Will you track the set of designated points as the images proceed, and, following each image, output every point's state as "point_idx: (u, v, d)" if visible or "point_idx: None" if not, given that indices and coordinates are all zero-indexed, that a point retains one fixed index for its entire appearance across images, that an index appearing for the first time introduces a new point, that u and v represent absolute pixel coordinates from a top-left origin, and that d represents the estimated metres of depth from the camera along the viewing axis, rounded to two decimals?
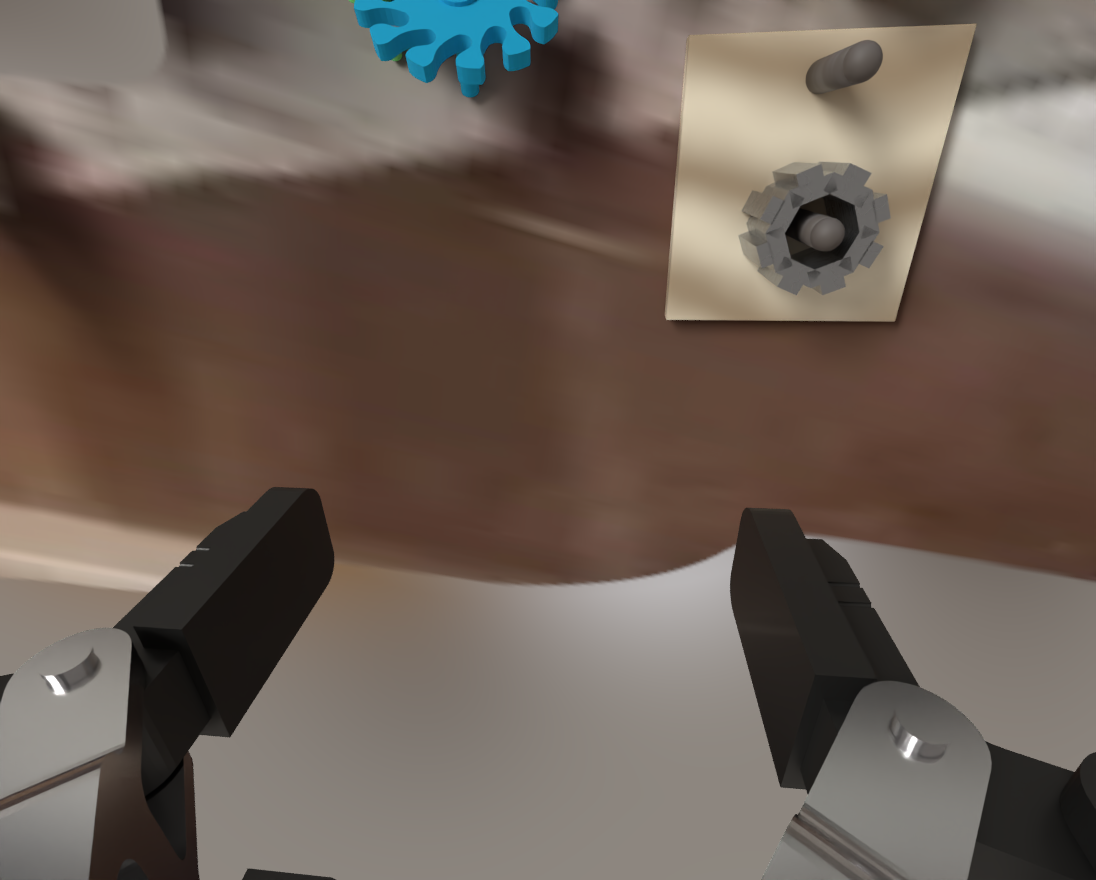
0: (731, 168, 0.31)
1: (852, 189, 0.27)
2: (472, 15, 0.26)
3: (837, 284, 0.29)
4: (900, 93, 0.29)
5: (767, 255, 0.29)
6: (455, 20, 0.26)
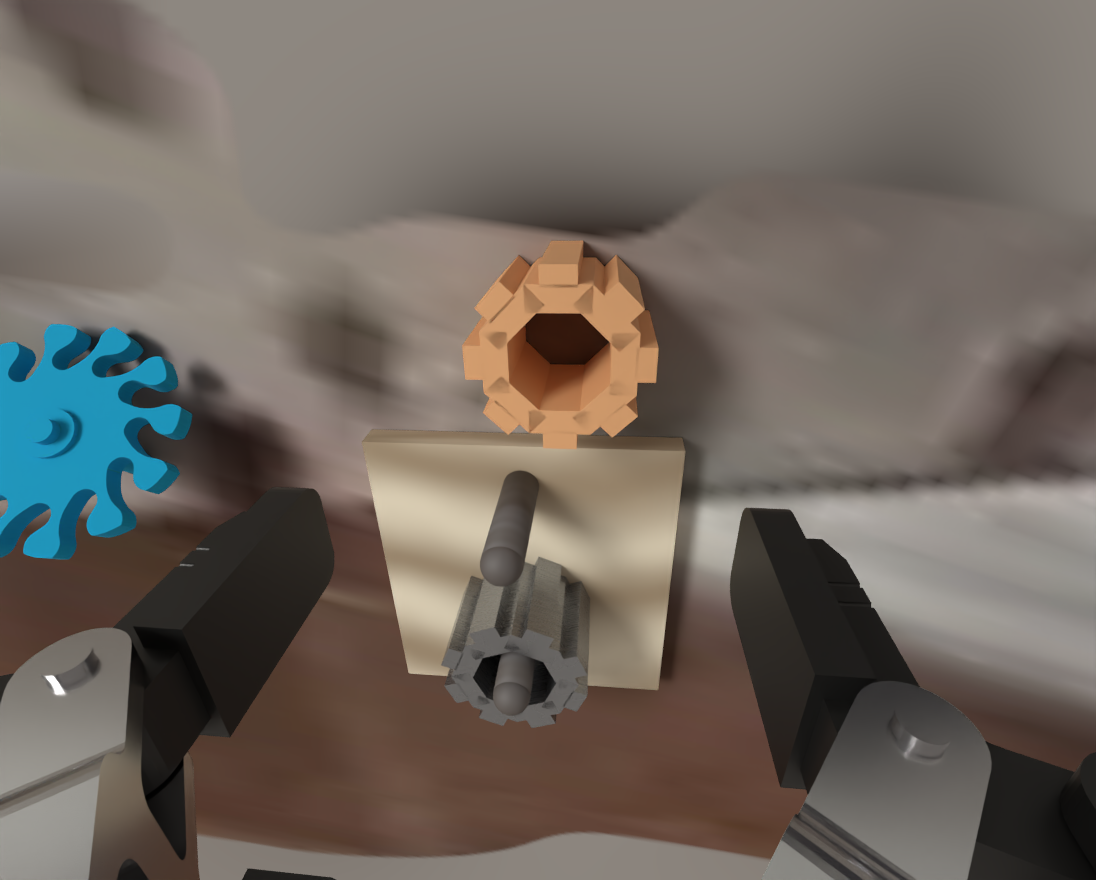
0: (442, 556, 0.27)
1: (536, 649, 0.23)
2: (61, 472, 0.22)
3: (545, 720, 0.25)
4: (614, 505, 0.25)
5: (459, 693, 0.25)
6: (37, 480, 0.22)
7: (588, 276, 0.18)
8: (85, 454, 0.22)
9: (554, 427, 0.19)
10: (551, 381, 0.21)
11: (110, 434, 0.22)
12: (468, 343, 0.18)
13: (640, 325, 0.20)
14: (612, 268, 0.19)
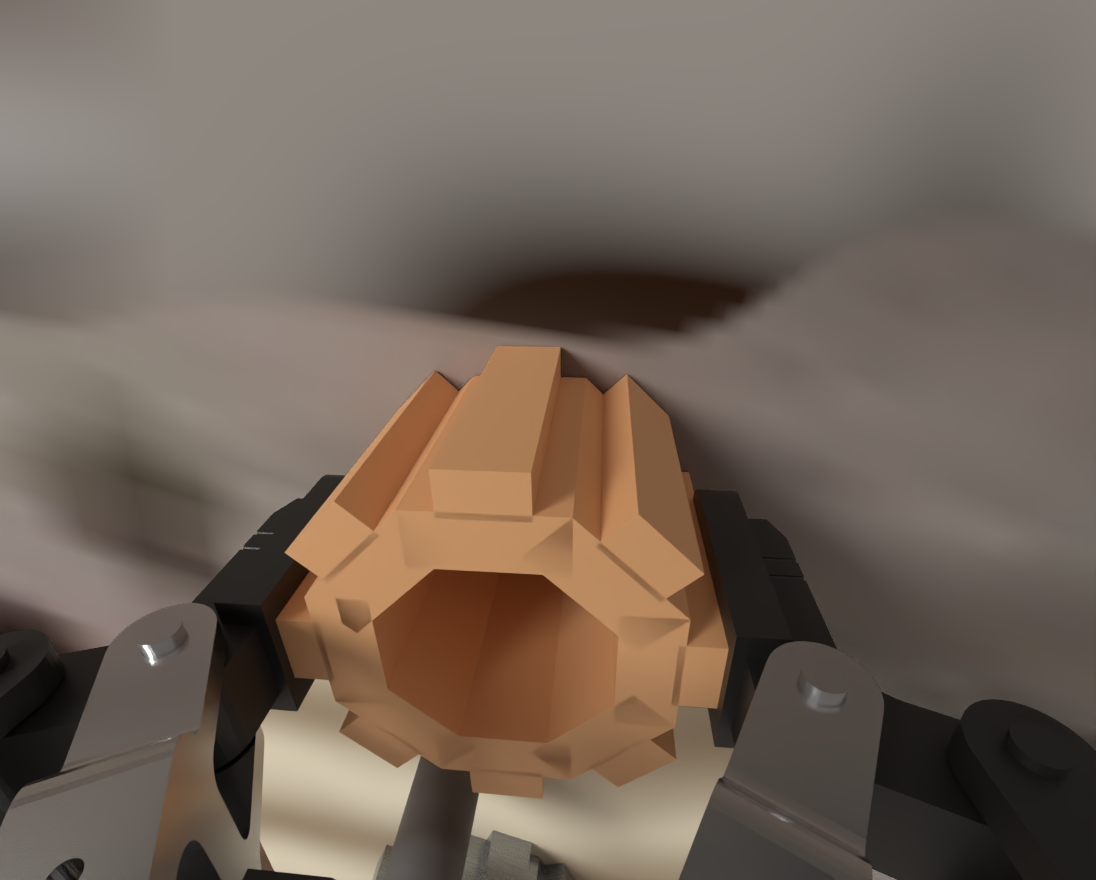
0: (338, 819, 0.17)
1: None
2: None
3: None
4: None
5: None
6: None
7: (564, 467, 0.08)
8: None
9: (493, 764, 0.09)
10: (499, 612, 0.11)
11: None
12: (290, 608, 0.08)
13: None
14: (619, 421, 0.09)
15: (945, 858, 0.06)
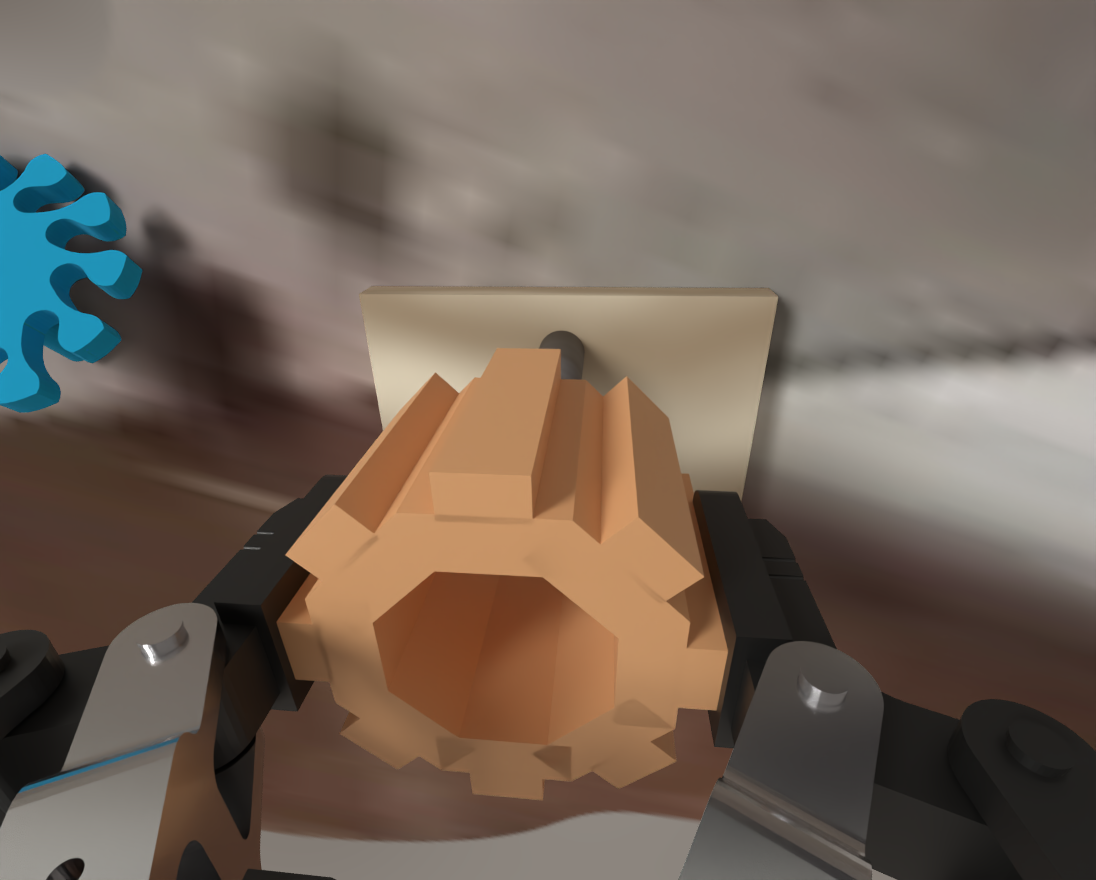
0: None
1: None
2: None
3: None
4: (679, 378, 0.19)
5: None
6: None
7: (564, 470, 0.08)
8: None
9: (493, 765, 0.09)
10: (499, 614, 0.11)
11: (32, 281, 0.17)
12: (290, 610, 0.08)
13: None
14: (619, 423, 0.09)
15: (945, 858, 0.06)
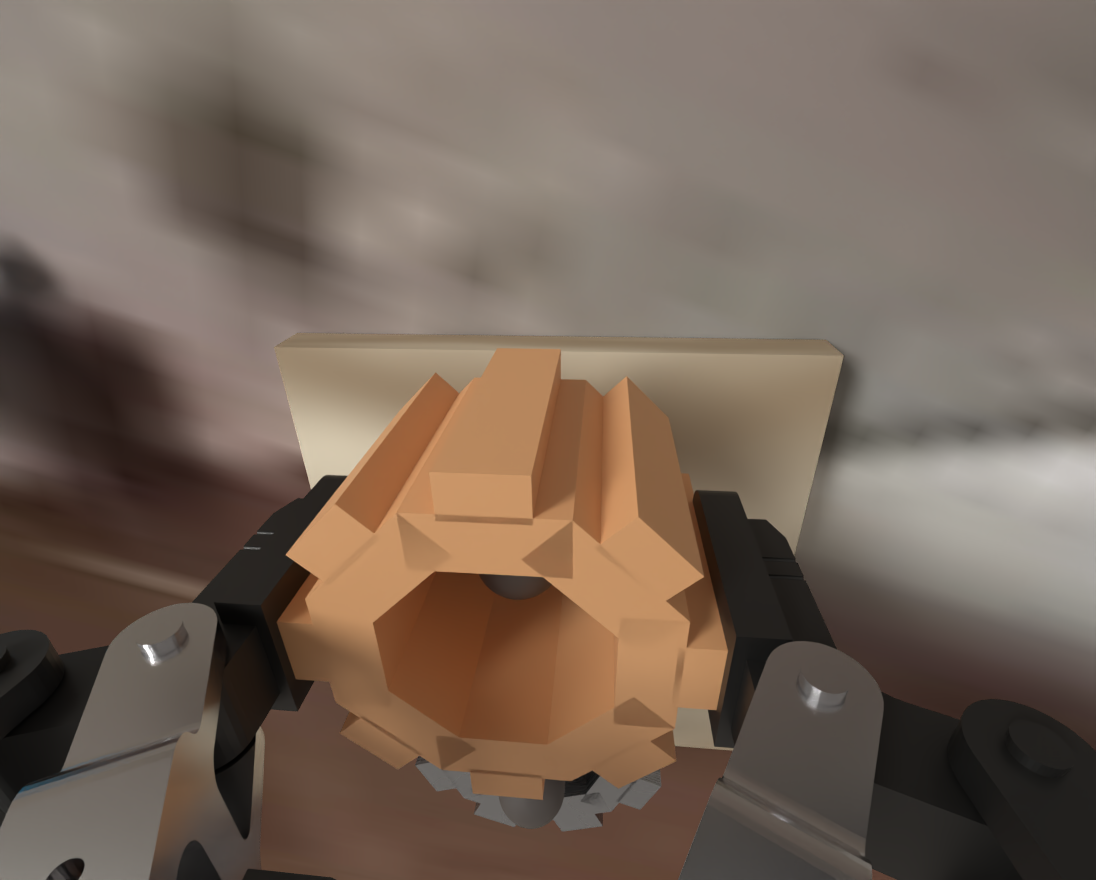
0: None
1: None
2: None
3: (585, 821, 0.15)
4: (705, 458, 0.14)
5: (441, 777, 0.15)
6: None
7: (564, 470, 0.08)
8: None
9: (493, 765, 0.09)
10: (499, 614, 0.11)
11: None
12: (291, 610, 0.08)
13: None
14: (619, 423, 0.09)
15: (945, 858, 0.06)
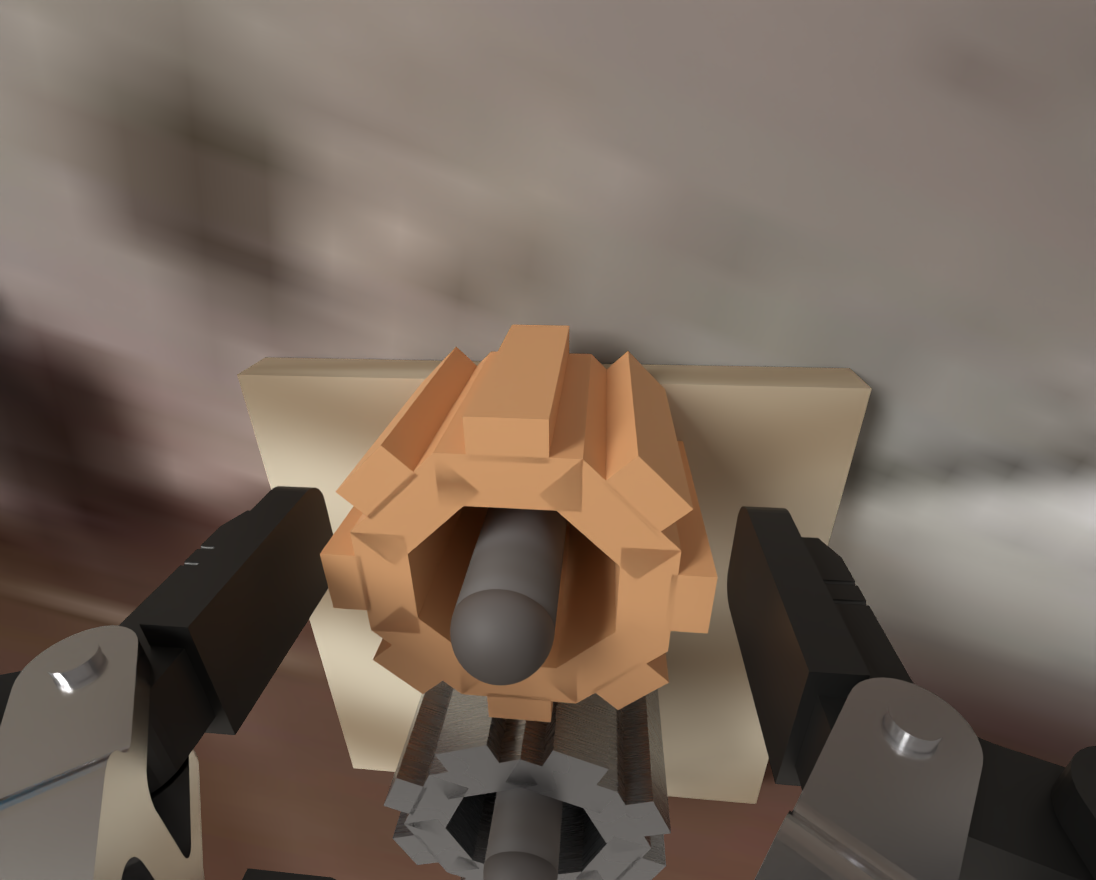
0: None
1: (571, 787, 0.11)
2: None
3: None
4: (714, 498, 0.13)
5: (421, 851, 0.13)
6: None
7: (574, 423, 0.09)
8: None
9: (508, 689, 0.10)
10: None
11: None
12: (335, 545, 0.09)
13: None
14: (621, 389, 0.10)
15: None
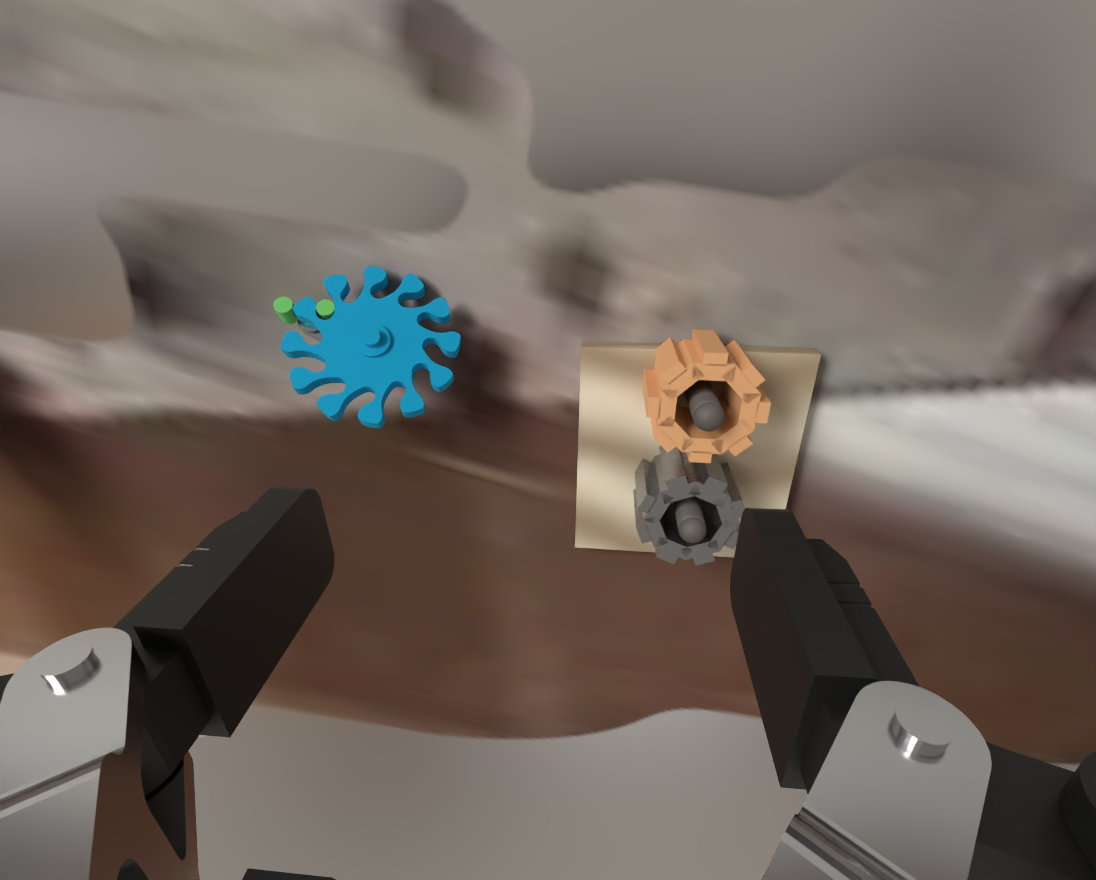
0: (623, 441, 0.36)
1: (713, 494, 0.32)
2: (380, 367, 0.31)
3: (707, 558, 0.34)
4: None
5: (646, 534, 0.34)
6: (365, 371, 0.31)
7: (728, 358, 0.29)
8: (396, 358, 0.32)
9: (698, 449, 0.31)
10: (688, 418, 0.33)
11: (413, 346, 0.32)
12: (651, 395, 0.30)
13: None
14: (736, 350, 0.31)
15: None
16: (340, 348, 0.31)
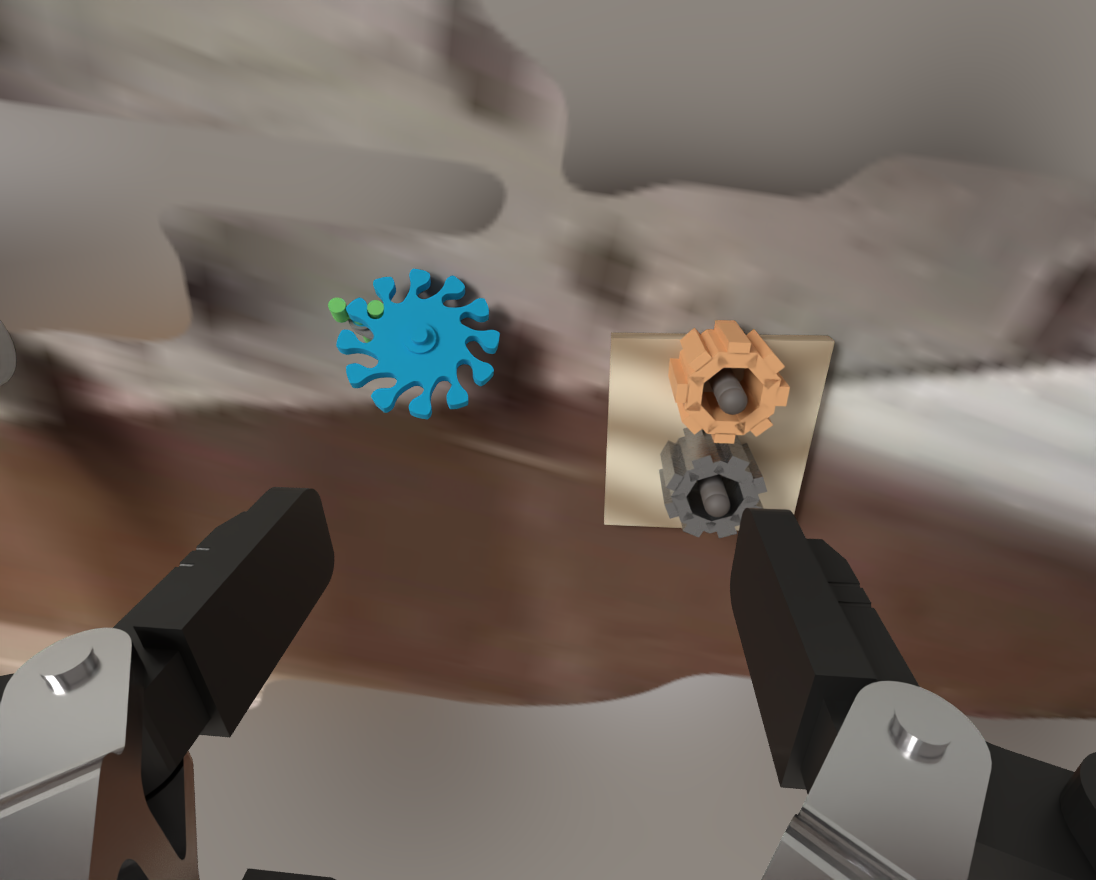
0: (650, 425, 0.39)
1: (736, 472, 0.35)
2: (427, 363, 0.34)
3: (730, 531, 0.37)
4: None
5: (673, 510, 0.37)
6: (414, 367, 0.34)
7: (750, 346, 0.32)
8: (442, 354, 0.34)
9: (722, 430, 0.34)
10: (711, 403, 0.36)
11: (457, 343, 0.35)
12: (679, 382, 0.33)
13: None
14: (757, 339, 0.34)
15: None
16: (390, 345, 0.34)
